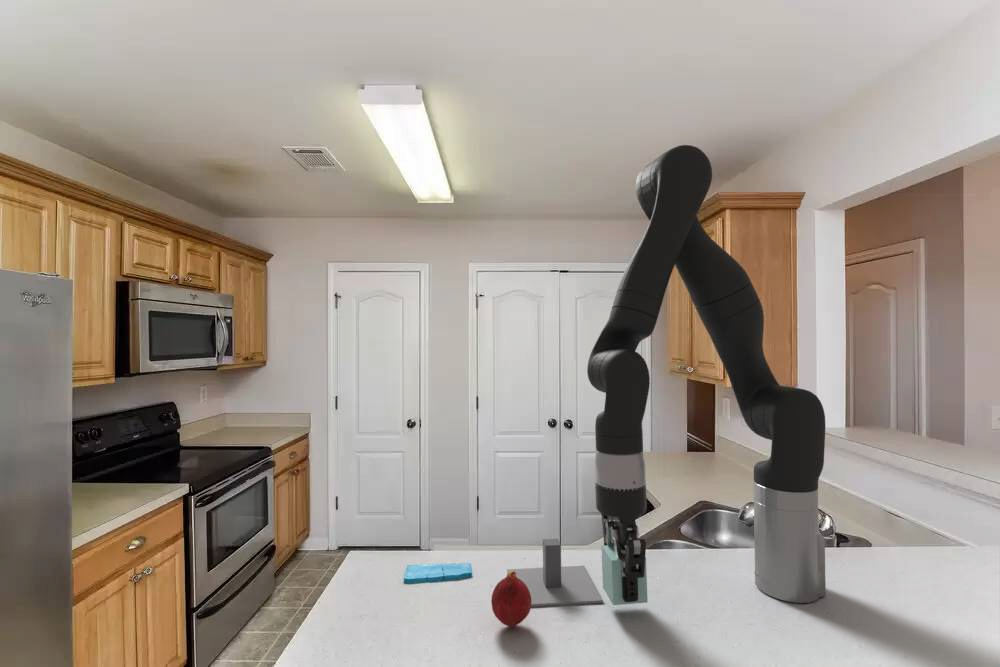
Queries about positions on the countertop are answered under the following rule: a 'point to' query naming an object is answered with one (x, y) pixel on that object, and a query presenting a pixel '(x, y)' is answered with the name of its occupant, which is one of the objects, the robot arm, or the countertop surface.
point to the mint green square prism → (619, 578)
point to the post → (551, 563)
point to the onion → (511, 600)
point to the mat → (572, 590)
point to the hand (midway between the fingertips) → (623, 590)
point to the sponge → (436, 572)
